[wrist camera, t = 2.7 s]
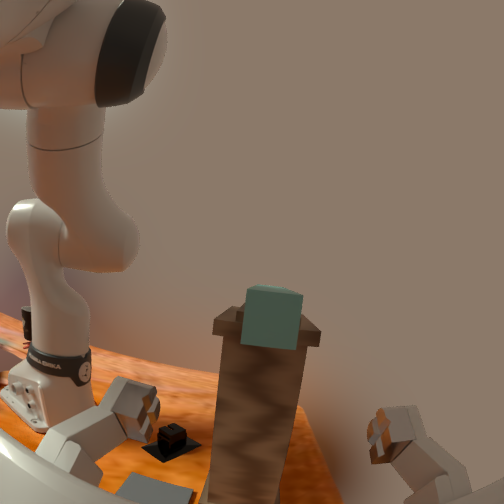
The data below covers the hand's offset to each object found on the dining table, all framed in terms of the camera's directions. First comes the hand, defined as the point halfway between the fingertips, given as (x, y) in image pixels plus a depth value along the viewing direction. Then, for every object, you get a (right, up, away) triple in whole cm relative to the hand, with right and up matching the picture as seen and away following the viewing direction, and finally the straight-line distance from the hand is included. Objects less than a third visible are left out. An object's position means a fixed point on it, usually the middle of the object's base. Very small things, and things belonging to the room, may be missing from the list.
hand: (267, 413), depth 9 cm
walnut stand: (-2, -28, +21) cm, 35 cm away
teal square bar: (+1, -1, +19) cm, 19 cm away
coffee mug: (-73, -23, +60) cm, 97 cm away
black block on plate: (-14, -28, +30) cm, 43 cm away
